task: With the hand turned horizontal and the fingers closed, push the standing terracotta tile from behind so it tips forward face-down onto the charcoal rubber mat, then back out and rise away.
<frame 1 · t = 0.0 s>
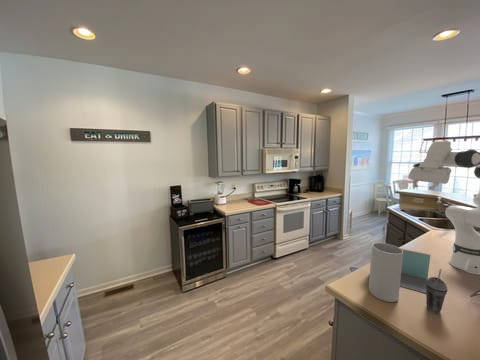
hand: (422, 188, 118), 52 cm above the countertop, tool tilted 20°, fingers open, 8 cm apart
mat: (413, 283, 111), on the countertop
beverage cup: (433, 310, 91), on the countertop
tile: (410, 274, 119), on the countertop
cylinder vase: (382, 294, 102), on the countertop
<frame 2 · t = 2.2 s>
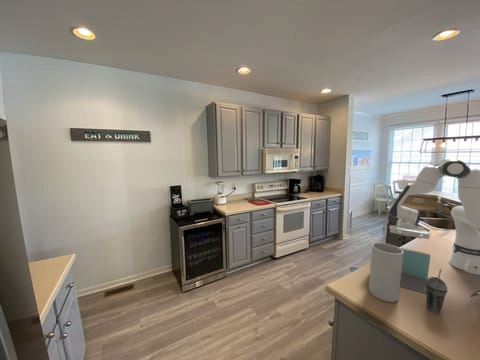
hand: (410, 235, 127), 20 cm above the countertop, tool horizontal, fingers open, 8 cm apart
nothing on the countertop moved.
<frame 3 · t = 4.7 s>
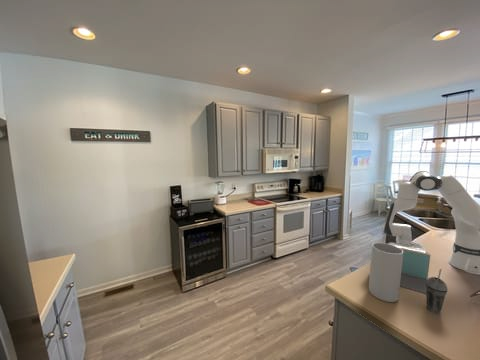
hand: (408, 254, 128), 8 cm above the countertop, tool horizontal, fingers closed
nothing on the countertop moved.
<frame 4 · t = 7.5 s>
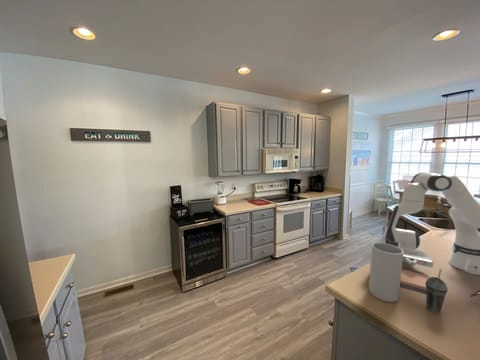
hand: (412, 263, 116), 8 cm above the countertop, tool horizontal, fingers closed
tile: (410, 272, 118), point 1 cm above the countertop, tilted 90°, touching mat
everything else where it was.
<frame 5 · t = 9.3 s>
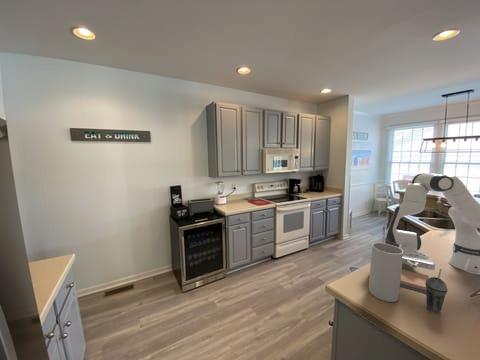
hand: (413, 266, 113), 8 cm above the countertop, tool horizontal, fingers closed
nothing on the countertop moved.
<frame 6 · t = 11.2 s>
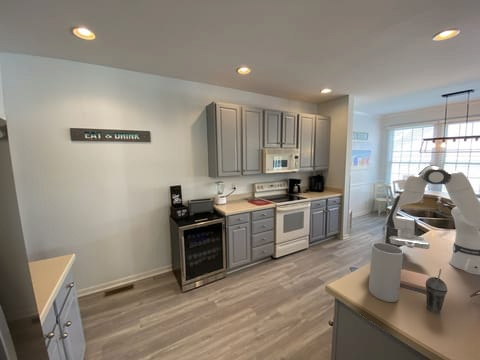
hand: (410, 246, 128), 13 cm above the countertop, tool horizontal, fingers closed
nothing on the countertop moved.
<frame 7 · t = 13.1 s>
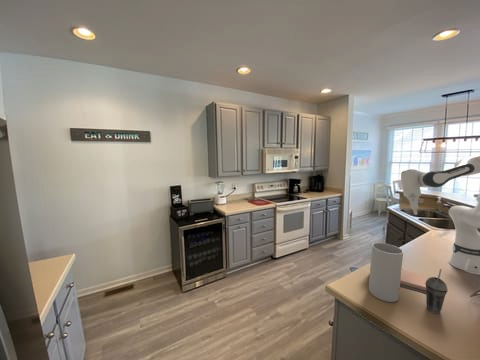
hand: (415, 214, 130), 33 cm above the countertop, tool pointing down, fingers closed
nothing on the countertop moved.
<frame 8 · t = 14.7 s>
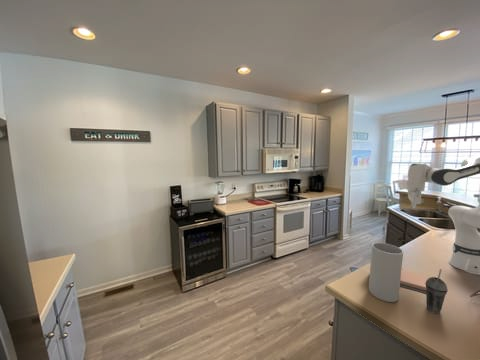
hand: (413, 208, 130), 37 cm above the countertop, tool pointing down, fingers closed
nothing on the countertop moved.
at the end: tile tilted 90°; tile touching mat; tile inside the target area (2.1 cm from its centre), point 1.4 cm above the countertop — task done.
